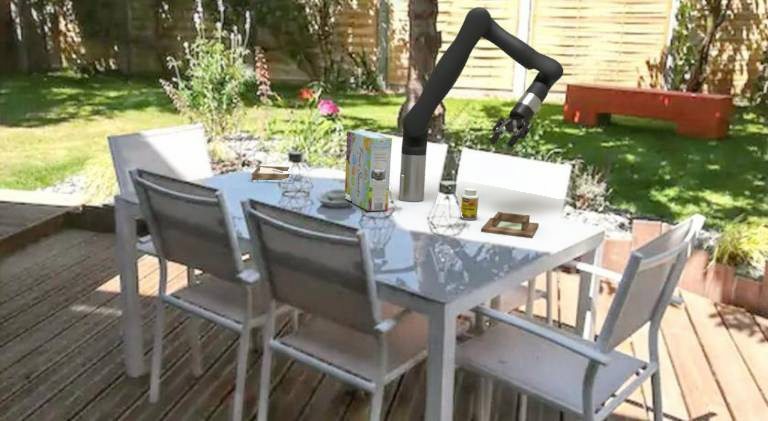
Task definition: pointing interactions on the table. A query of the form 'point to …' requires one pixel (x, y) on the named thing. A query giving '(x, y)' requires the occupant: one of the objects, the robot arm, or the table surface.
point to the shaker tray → (269, 174)
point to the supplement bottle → (469, 204)
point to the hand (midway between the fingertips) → (500, 144)
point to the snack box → (367, 169)
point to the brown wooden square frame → (510, 225)
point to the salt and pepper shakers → (270, 170)
